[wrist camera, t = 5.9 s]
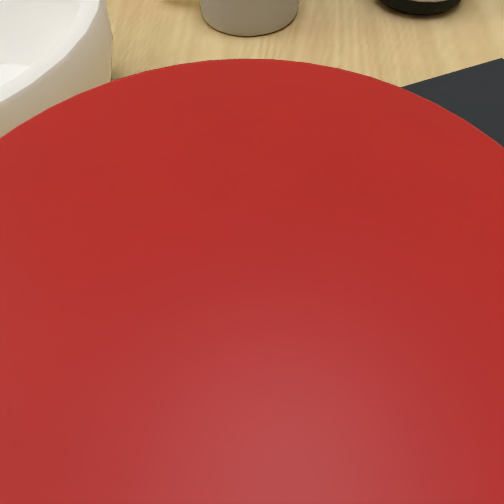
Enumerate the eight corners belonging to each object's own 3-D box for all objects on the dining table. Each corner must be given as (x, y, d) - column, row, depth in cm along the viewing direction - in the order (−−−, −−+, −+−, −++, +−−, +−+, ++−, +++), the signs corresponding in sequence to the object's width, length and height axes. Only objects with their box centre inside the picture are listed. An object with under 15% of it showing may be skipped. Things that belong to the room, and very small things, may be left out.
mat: (497, 67, 32) (502, 57, 32) (615, 163, 27) (624, 153, 26) (370, 104, 30) (372, 95, 30) (468, 217, 25) (474, 208, 24)
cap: (322, 242, 7) (366, 13, 4) (492, 524, 5) (898, 508, 2) (62, 334, 6) (-137, 138, 3) (126, 721, 4) (-325, 1330, 1)
